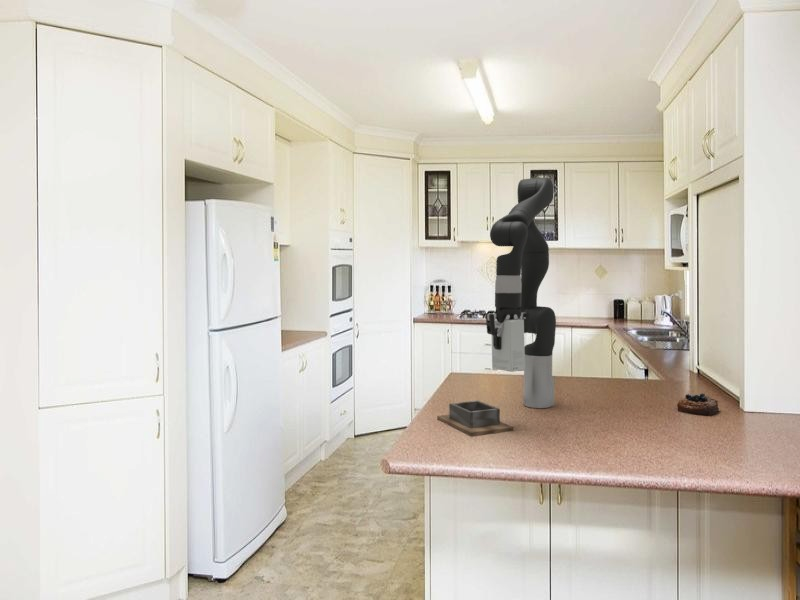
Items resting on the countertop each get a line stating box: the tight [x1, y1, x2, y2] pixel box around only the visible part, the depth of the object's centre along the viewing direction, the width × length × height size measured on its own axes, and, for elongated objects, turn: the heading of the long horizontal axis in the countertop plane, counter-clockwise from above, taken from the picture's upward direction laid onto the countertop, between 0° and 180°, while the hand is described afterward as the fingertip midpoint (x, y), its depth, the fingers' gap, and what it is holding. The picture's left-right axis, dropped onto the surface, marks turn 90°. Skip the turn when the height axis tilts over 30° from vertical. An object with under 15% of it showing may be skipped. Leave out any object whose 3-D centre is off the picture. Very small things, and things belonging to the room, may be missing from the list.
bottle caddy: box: [436, 400, 514, 437], centre depth 177 cm, size 14×20×6 cm
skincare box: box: [491, 318, 525, 373], centre depth 175 cm, size 8×6×15 cm
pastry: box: [676, 392, 720, 417], centre depth 194 cm, size 11×12×6 cm
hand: (507, 348), depth 175 cm, fingers closed on skincare box, 6 cm apart
